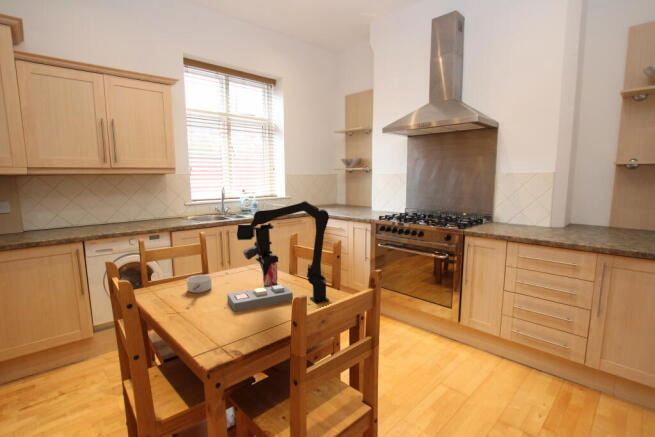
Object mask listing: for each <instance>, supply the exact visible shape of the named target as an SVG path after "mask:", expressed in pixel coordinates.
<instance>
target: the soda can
mask: <svg viewBox="0 0 655 437" xmlns="http://www.w3.org/2000/svg"><path fill="white" fill-rule="evenodd" d="M277 263H278V262H276V263H271V265H270V268H269V270H268V273H267V275H263V274H262V281H263V284H264V286H267V287H271V286H276V284H277V283H278V264H277Z"/></svg>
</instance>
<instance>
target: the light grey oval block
mask: <svg viewBox="0 0 655 437" xmlns="http://www.w3.org/2000/svg"><path fill="white" fill-rule="evenodd" d="M185 279H186V280H185V281H186V286H187V288H186V289H187V291H188V292H190V293H194V294H195V293H197V294H199V293H204V292H205V293H206V292H207V291H209V290H210V289H211V288H212V276H211V275H208V274H199V275H198V274H197V275H192V276H189V277H187V278H185Z"/></svg>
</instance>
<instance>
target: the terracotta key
mask: <svg viewBox="0 0 655 437" xmlns="http://www.w3.org/2000/svg"><path fill="white" fill-rule="evenodd" d="M235 298H236V299H237V300H238V299H244V298H248V296H247V295H246V294H241V295H235Z"/></svg>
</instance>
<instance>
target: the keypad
mask: <svg viewBox="0 0 655 437" xmlns="http://www.w3.org/2000/svg"><path fill="white" fill-rule="evenodd" d="M281 285H282V286H283V287H284V291H283V292H277V293H274V292H273V291H272V290H271V286H267V287H263V288H264V289H266V290H267V294H266V295H261V296H255V295H254V289H248V290H242V291H238V292H237V291H236V292H230V293H227V302H228V305H229V306H230V308H231V309H232V311H233V312H234V313H235V312H241V311H246V310H252V309H256V308H261V307H266V306H267V307H268V306H270V305H271V306H272V305H276V304H282V303H288V302H291V301H292V300H293V296H294V295H293V291H292V290H290V289H289V288H288V287H286V286H285V285H283V284H281ZM241 294H246V295H247V296H248V298H244V299H238V300H237V299H236V298H235V295H241ZM293 301H294V300H293ZM293 301H292V302H293Z"/></svg>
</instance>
